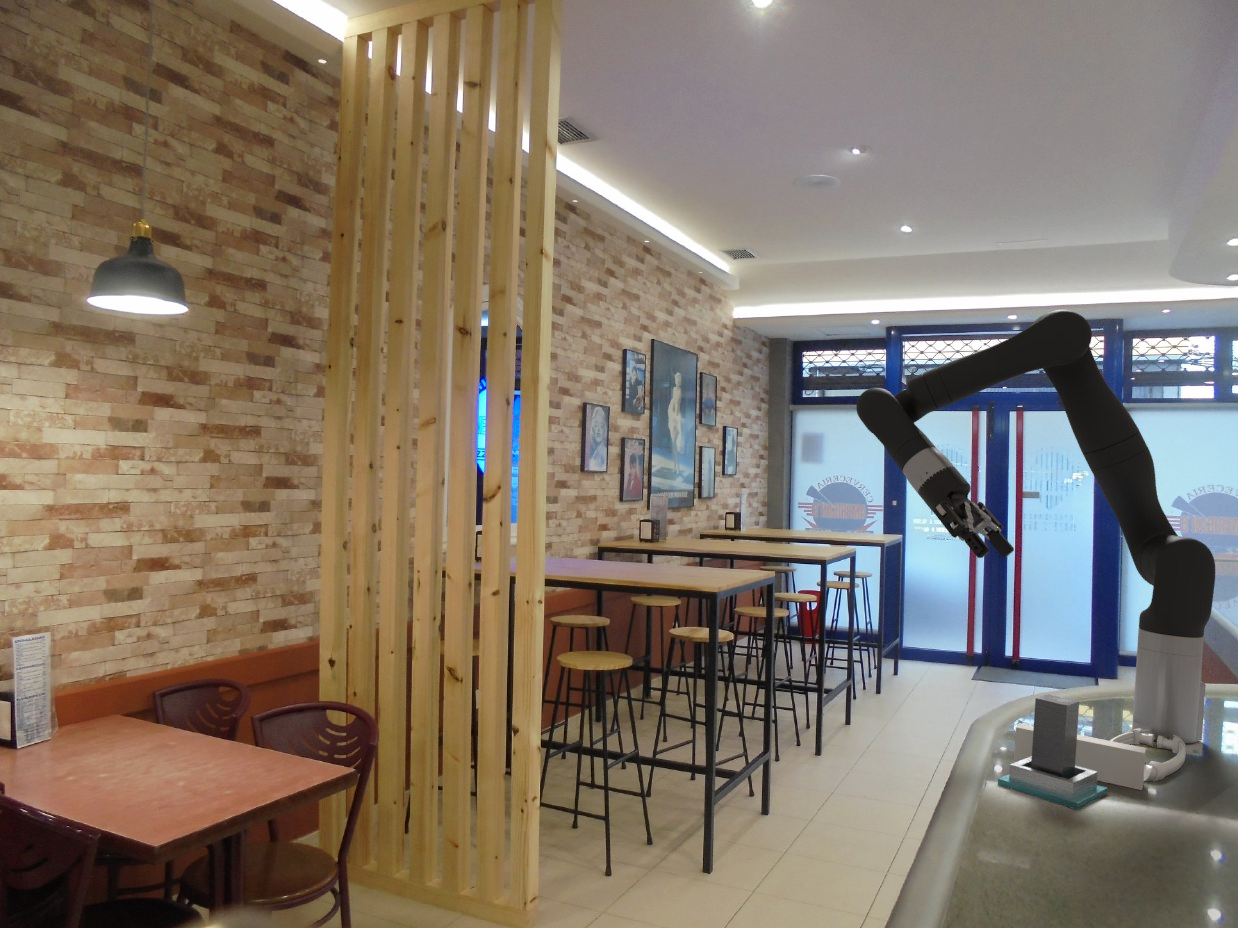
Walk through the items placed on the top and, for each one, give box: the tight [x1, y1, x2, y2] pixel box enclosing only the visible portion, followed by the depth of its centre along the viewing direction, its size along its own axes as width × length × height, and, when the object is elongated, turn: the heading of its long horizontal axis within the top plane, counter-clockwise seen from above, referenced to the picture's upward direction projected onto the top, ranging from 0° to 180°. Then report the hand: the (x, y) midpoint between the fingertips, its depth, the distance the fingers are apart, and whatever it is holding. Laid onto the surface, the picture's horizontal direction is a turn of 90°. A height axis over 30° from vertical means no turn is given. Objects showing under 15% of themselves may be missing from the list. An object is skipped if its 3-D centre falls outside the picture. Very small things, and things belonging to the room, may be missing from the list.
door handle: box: [1109, 728, 1187, 783], centre depth 134 cm, size 3×10×25 cm
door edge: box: [1013, 722, 1147, 791], centre depth 125 cm, size 16×3×5 cm, turn 57°
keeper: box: [997, 756, 1109, 811], centre depth 118 cm, size 10×10×3 cm
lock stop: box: [1031, 694, 1080, 779], centre depth 118 cm, size 4×4×11 cm
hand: (997, 554), depth 144 cm, fingers open, 8 cm apart
